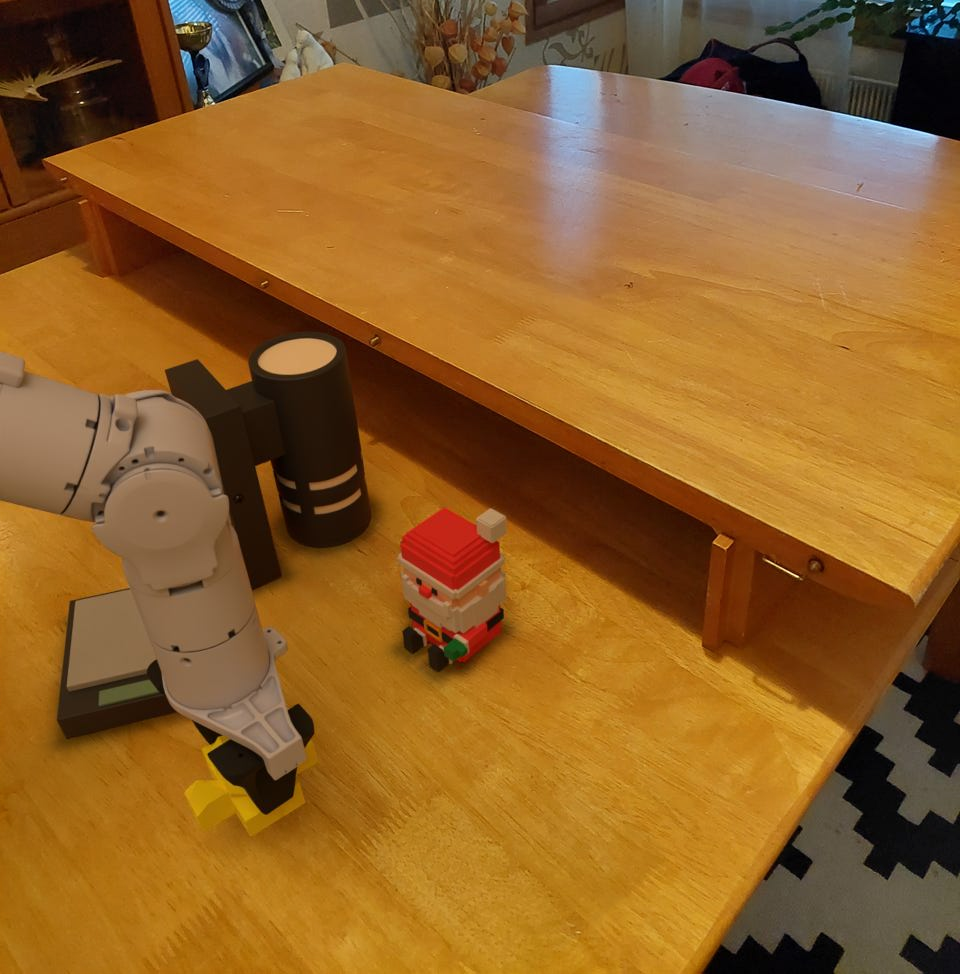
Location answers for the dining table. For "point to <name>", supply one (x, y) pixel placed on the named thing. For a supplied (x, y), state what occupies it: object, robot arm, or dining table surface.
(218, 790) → the yellow angular block
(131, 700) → the scale
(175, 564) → the robot arm
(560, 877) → the dining table surface
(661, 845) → the dining table surface
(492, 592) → the figurine
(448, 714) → the dining table surface
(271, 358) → the light fixture
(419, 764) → the dining table surface
